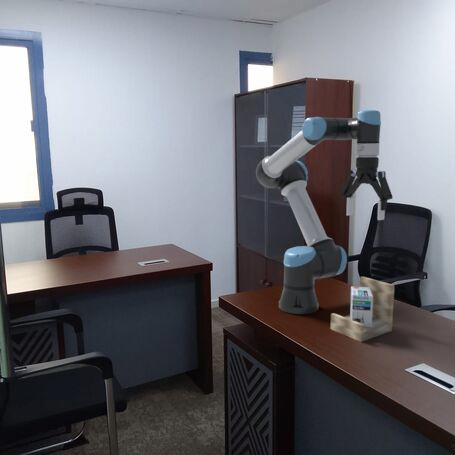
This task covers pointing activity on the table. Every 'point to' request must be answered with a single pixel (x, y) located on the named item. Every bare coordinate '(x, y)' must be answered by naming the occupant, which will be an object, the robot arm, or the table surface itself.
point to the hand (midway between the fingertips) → (364, 217)
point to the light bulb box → (361, 305)
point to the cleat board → (380, 313)
